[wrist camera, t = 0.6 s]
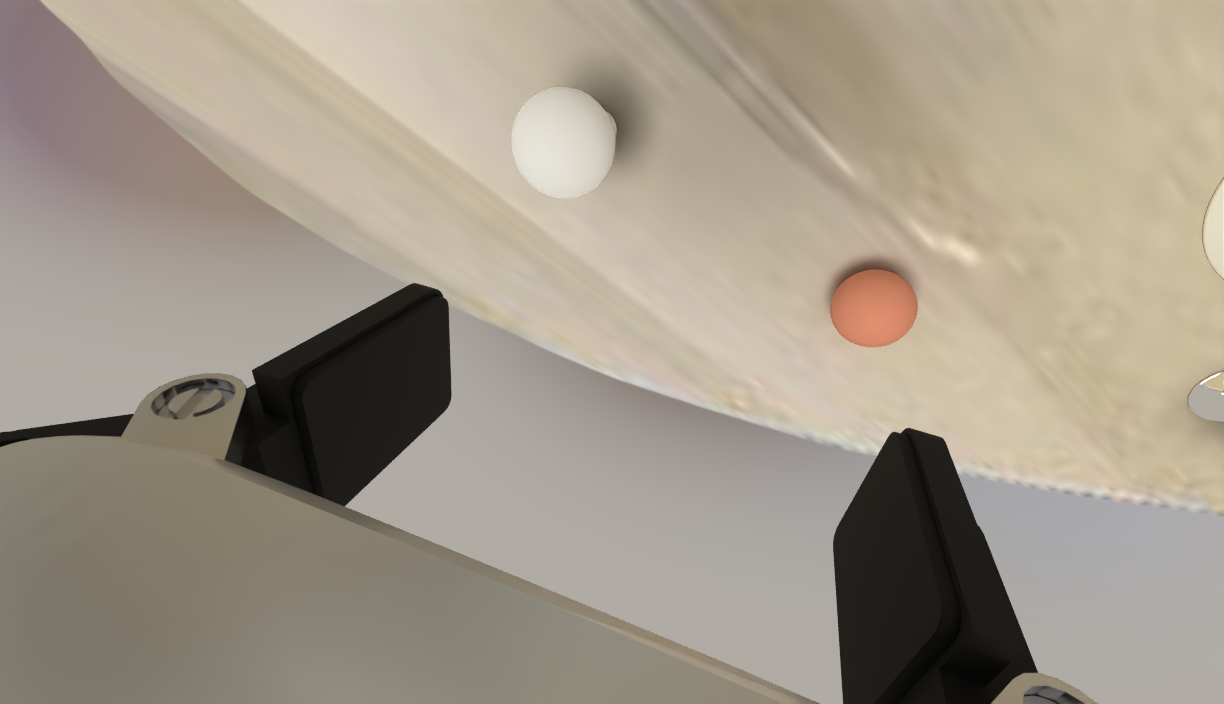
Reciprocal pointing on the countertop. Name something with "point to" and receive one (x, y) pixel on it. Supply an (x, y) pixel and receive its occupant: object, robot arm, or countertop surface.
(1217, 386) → the wineglass
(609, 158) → the light bulb
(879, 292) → the ball
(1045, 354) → the countertop surface
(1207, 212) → the disc
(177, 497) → the robot arm
